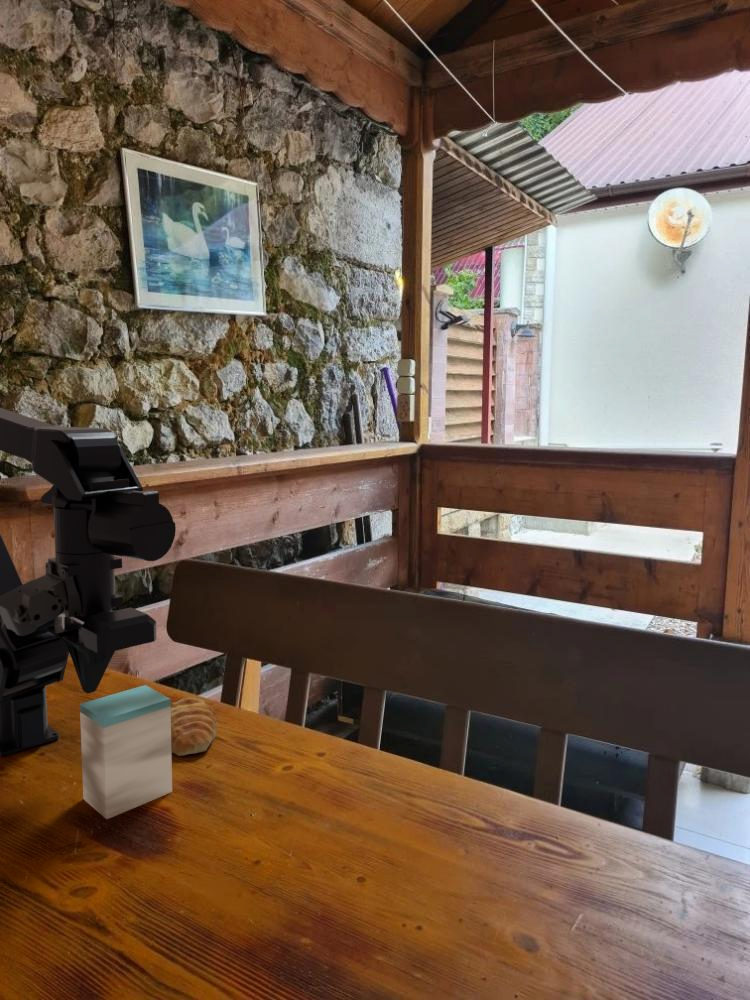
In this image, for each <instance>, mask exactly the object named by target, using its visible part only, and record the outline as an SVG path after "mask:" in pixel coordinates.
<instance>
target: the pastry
mask: <svg viewBox="0 0 750 1000" xmlns="http://www.w3.org/2000/svg"><path fill="white" fill-rule="evenodd" d="M170 707H171V754H174V755H177V756H178V757H183V756H186V755H190V754H197V753H203V752H206V751H207V749H208V748H209V747H210V745H211V743H212V742H213V741H214V740H215V738H216V734H217V733H216V732H217V730H218V728H219V727H218V726H219V724H218V722H217V719H216V714H217V713H216V711H215V709H214V708H213V707H212V706H211V705H209V704H207V703H205V701H204V700H203V699H200V698H196V697H184V698H181V699H179V700H177V701H175V702H172V703H170Z"/></svg>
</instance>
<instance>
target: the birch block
mask: <svg viewBox="0 0 750 1000" xmlns="http://www.w3.org/2000/svg"><path fill="white" fill-rule="evenodd" d="M170 705H171V698H170V697H168V696H166V695H164V694H162V693H160V692H159V691H157V690H155V689H154V688H152V687H150V686H148V685H146V684H144V685H140V686H137V687H134V688H130V689H127V690H123V691H120V692H117V693H113V694H109V695H106V696H101V697H99V698H95V699H93V700H88V701H86V702H81V703H80V704H79V715H80V716H79V717H80V718H79V719H80V740H81V741H80V743H81V744H80V747H81V749H80V750H81V769H82V770H81V772H82V798H83V800H84V802H86V803H87V804H89V806H91V808H93V809H94V810H95V811H96V812H98V814H100V815H101V816H102V817H103V818H104V819H106V820H109V819H111V818H113V817H116V816H119V815H121V814H123V813H125V812H127V811H131V810H133V809H135V808H138V807H140V806H142V805H144V804H147V803H149V802H151V801H154V800H157V799H159V798H162V797H163V796H166V795H168V794H170V793H173V771H172V770H173V769H172V768H173V766H172V764H173V763H172V761H173V759H172V757H173V756H172V752H171V707H170Z"/></svg>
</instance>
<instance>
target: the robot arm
mask: <svg viewBox="0 0 750 1000" xmlns="http://www.w3.org/2000/svg"><path fill="white" fill-rule="evenodd" d="M0 451H2V452H4V453H6V454H10V455H13V456H15V457H18V458H21V459H23V460H25V461H27V462H29V463H30V464H31V468H32V472H33V473H34V474H36V475H37V476H39V477H40V478H41V479H43V480H45V481H46V482H48V483H49V484H50V485H51V487H50V488H49V489H48V490H47V491H46V492H44V493H43V494H42V496H41V497H40V503H41V504H42V505H50V506H53V528H54V529H53V530H54V533H53V534H54V555H55V557H51V558H47V562H45V574H44V575H42V576H40V577H37V578H35V579H31V580H29V581H27V582H25V583H23V580H22V579H21V577H20V575H19V572H18V570H17V568H16V565H15V563H14V561H13V558H12V556H11V555H10V551H9V550H8V548H7V545H6V542H5V540H4V538H3V536H2V534H1V532H0V756H3V757H5V756H8V755H11V754H14V753H18V752H21V751H24V750H26V749H29V748H34V747H37V746H39V745H43V744H45V743H49V742H52V741H56V740H58V739H60V733H59V732H58V731H57V730H55V729H54V728H53V727H51V725H49V724H48V708H47V707H48V704H47V687H48V686H49V685H52V684H56V683H60V682H62V681H63V680H64V676H65V671H66V669H67V664H68V659H69V655H70V658H71V660H72V664H73V667H74V670H75V672H76V676H77V678H78V681H79V684H80V686H81V690H82V691H83V692H84V693H86V694H92V693H95V692H97V690H98V687H99V686H100V683H101V681H102V679H103V677H104V675H105V673H106V670H107V669H108V666H109V664H110V662H111V660H112V658H113V656H114V654H115V652H116V651H120V650H124V649H130V648H132V647H137V646H141V645H142V646H143V645H145V644H148V643H149V644H150V643H152V642H155V641H157V620H155V619H154V618H153V617H152V616H150V615H149V614H148V613H146V612H143V611H140V610H138V609H136V608H133V607H126V608H121V609H117V610H112V609H113V608H117V607H121V606H124V596H122V595H121V594H118V593H116V578H115V575H116V573H115V570H117V569H123V558H129V559H134V560H139V561H140V560H141V561H146V562H156V561H158V560H160V559H162V558H163V557H165V555H166V554H167V553H168V552H169V551H170V549H171V547H172V546H173V544H174V541H175V536H176V528H177V527H176V522H175V521H174V519H173V516H172V514H171V512H170V510H169V509H168V508H167V506H165V505H164V504H162V503H160V493H159V492H158V490H144V488H143V485H142V484H141V482H140V480H139V476H138V475H137V473H136V472H135V470H134V469H133V467H132V465H131V463H130V461H129V459H128V457H127V456H126V454H125V451H124V449H123V448H122V446H121V444H120V443H119V441H118V436H117V435H116V433H114V432H113V431H111V430H110V429H108V428H101V427H100V428H99V427H97V428H96V427H80V426H57V425H53V424H51V423H47V422H45V421H41V420H39V419H35V418H33V417H31V416H27V415H24V414H21V413H17V412H15V411H11V410H9V409H6V408H3V407H0ZM122 557H123V558H122Z"/></svg>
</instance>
